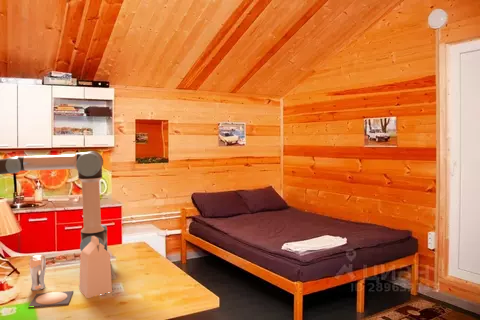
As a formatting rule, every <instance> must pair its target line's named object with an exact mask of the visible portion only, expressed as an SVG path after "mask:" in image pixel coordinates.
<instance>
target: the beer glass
mask: <svg viewBox="0 0 480 320" xmlns="http://www.w3.org/2000/svg"><path fill="white" fill-rule="evenodd" d="M46 270H47V263H46V256H45V255H34V256H31V257H30V258H29V272H30V277H31V287H30V289H31V291H41V290H43V289H45V288H46V284H45V275H46Z"/></svg>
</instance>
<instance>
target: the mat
mask: <svg viewBox="0 0 480 320" xmlns="http://www.w3.org/2000/svg"><path fill="white" fill-rule="evenodd" d="M73 294H74V290H69V291H68V290H67V291H52V292H41V293H35V294H34V296H33V298H32V299H31V301H30V303H29V305H28V306H34V307H36V308H46V307H47V308H48V307H63V306H69V304H70V302H71V299H72V297H73Z"/></svg>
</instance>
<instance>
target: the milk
mask: <svg viewBox="0 0 480 320" xmlns="http://www.w3.org/2000/svg"><path fill="white" fill-rule="evenodd" d="M104 247H105V246H104V245H102V244H101V243H100V244H99V239H98V238H97V237H95V236H91V242H90V243H89V244H88V245H87V246H86V247H85V248H84V249H83V250H82V251H81V250H80V261H79V285H78V288H79V290H78V291H80V292H81V293H82V294H83V295H84V296H85V298H86V299H89V298H94V297H93V296H95V297H97V296H96V295H99V296H101V295H100V294H103V295H105V294H104V293H108V292H112V293H113V288H112V286H113V285H112V270H111V269H112V267H111V264H112V263H111V264H110V261H111V254H110V252H109V251H108V250H107V251H106V250H105V249H104ZM108 294H109V293H108Z"/></svg>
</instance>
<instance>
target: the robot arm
mask: <svg viewBox="0 0 480 320" xmlns="http://www.w3.org/2000/svg"><path fill="white" fill-rule="evenodd" d="M103 166H104V159H103V156H102V154H100V153H99V152H98V151H95V150H88V151H85V152H76V153H75V154H61V155H60V154H59V155H57V154H56V155H53V154H52V155H32V156H31V155H29V156H26V155H25V156H18V155H14V156H10V157H7V158H0V175H8V174H16V173H19V172H22V171H23V172H24V171H48V170H49V171H50V170H52V171H53V170H77V175H78V177H77V178H78V180H79V181H80V182H81V194H82V196H81V198H82V218H83V220H82V221H83V228H82V229H81V230H80V244H79V249H80V252H81V251H82V250H83V249H84V248H85V247H86V246H87V245H88V244H89V243H90V242H91V236H95V237H97V238H98V239H99V244H100V243H101V244H102V245H104V246H105V247H104V249H105V250H106V251H108V227H107V225H105V224H102V217H101V214H102V213H101V195H100V194H101V190H100V188H101V187H100V180H101V179H102V178H103ZM110 264H112V263H111V260H110Z"/></svg>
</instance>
